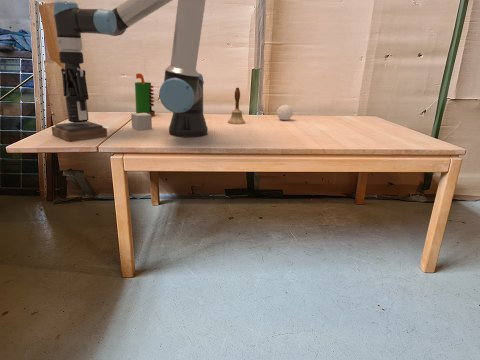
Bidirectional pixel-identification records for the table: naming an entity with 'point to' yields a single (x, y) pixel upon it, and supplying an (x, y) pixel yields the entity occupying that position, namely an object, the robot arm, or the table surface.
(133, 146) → the table surface
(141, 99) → the green spray bottle
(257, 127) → the table surface
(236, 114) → the hand bell
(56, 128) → the walnut plinth
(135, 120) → the grey cube
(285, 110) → the whitish grey ball
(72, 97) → the supplement bottle
